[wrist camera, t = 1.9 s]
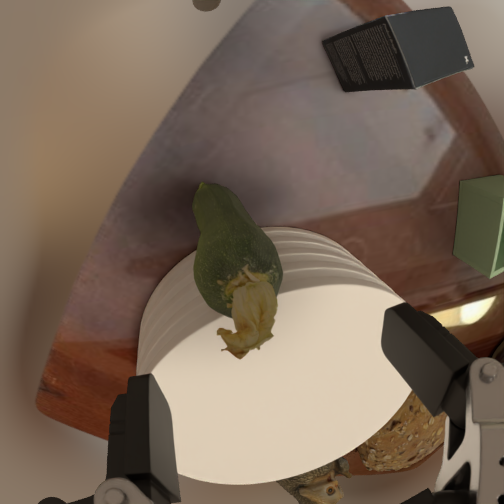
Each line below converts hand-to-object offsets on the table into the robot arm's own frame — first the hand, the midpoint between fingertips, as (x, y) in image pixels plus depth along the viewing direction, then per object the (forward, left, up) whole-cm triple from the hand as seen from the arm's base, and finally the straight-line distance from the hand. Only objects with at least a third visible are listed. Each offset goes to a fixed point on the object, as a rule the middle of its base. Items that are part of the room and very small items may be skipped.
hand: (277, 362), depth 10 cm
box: (-12, +17, -20) cm, 29 cm away
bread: (+46, +26, -20) cm, 57 cm away
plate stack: (+17, +3, -20) cm, 27 cm away
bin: (+8, +36, -20) cm, 42 cm away
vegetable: (0, 0, -20) cm, 20 cm away
